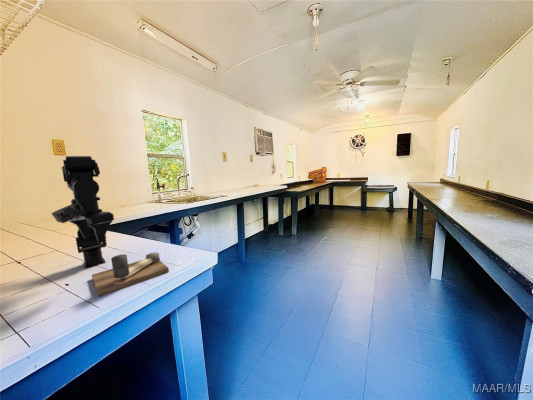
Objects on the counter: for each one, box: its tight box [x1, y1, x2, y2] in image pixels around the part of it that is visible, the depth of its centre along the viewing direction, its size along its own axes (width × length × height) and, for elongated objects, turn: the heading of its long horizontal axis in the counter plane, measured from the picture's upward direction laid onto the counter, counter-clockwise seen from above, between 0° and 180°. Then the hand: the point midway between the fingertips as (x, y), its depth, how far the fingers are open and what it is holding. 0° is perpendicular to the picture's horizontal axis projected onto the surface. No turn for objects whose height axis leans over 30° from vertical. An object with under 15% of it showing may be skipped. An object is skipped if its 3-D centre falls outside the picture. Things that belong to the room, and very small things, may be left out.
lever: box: [110, 251, 161, 279], centre depth 75 cm, size 18×4×8 cm, turn 169°
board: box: [91, 259, 170, 297], centre depth 75 cm, size 15×20×2 cm
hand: (93, 240), depth 73 cm, fingers open, 9 cm apart
